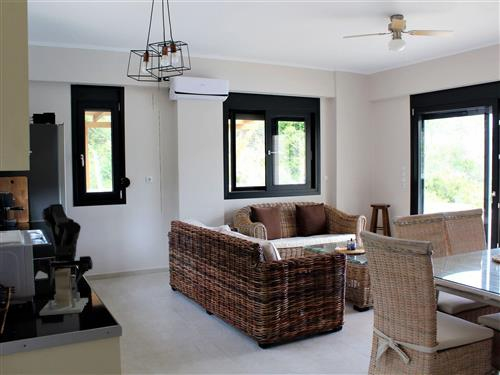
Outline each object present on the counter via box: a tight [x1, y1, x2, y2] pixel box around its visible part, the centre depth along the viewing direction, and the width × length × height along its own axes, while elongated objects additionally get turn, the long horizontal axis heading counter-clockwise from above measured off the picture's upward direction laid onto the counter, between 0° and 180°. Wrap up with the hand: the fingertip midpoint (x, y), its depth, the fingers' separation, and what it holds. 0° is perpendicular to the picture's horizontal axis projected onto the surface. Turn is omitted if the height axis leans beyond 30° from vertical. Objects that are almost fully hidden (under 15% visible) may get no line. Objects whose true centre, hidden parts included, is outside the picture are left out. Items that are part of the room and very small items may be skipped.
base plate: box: [39, 292, 89, 316], centre depth 176 cm, size 14×14×4 cm
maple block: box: [54, 268, 73, 307], centre depth 176 cm, size 4×4×13 cm
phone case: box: [34, 270, 55, 282], centre depth 227 cm, size 9×2×16 cm
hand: (63, 283), depth 176 cm, fingers open, 9 cm apart
